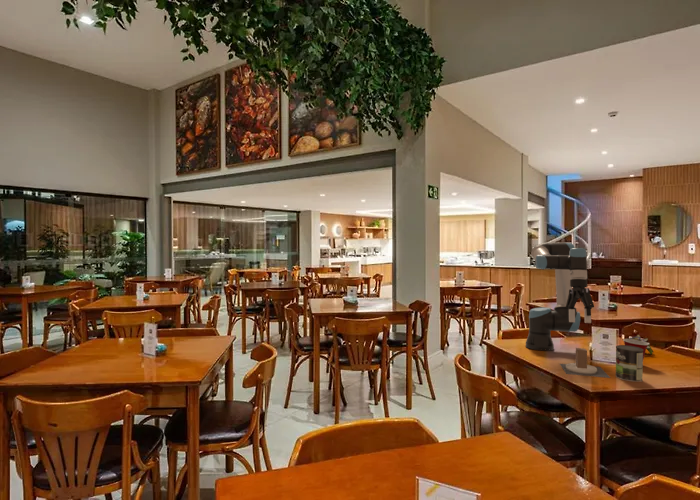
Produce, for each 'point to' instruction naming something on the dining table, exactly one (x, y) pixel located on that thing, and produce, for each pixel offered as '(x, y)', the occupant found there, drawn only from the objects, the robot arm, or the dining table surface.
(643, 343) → the plastic cup
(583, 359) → the lid
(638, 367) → the coffee can
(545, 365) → the dining table surface
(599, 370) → the mat
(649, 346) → the passion flower
